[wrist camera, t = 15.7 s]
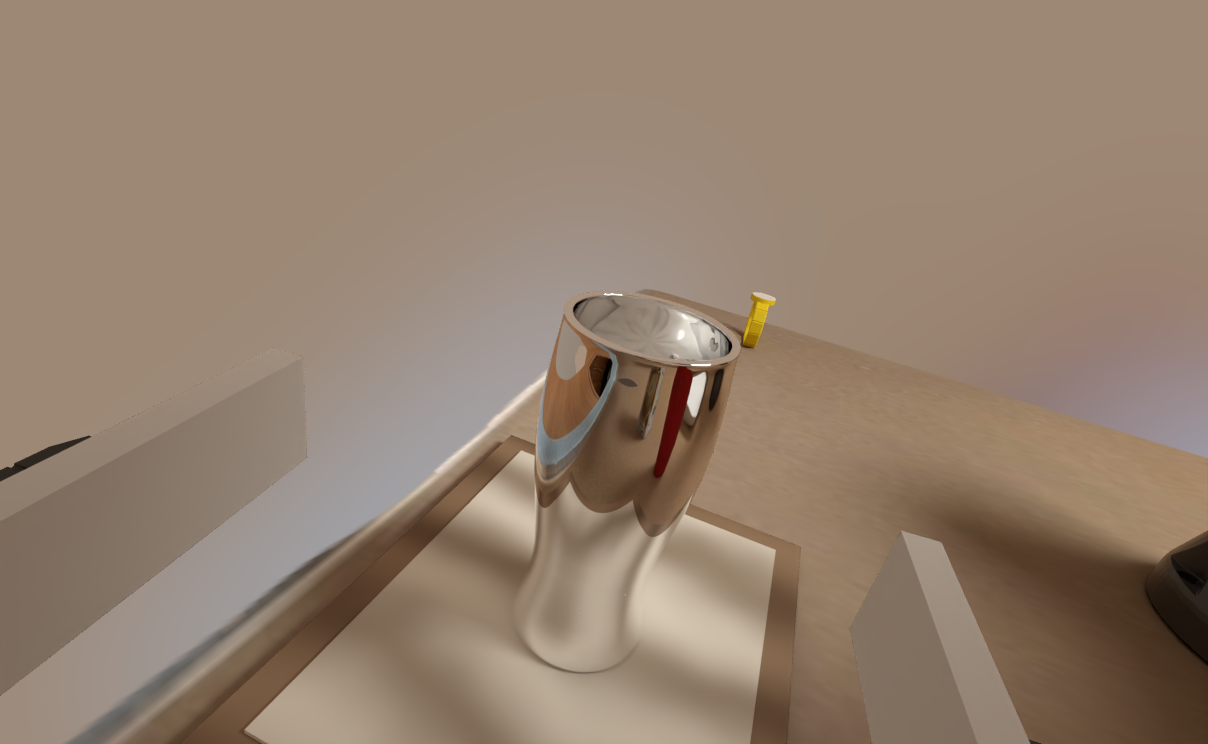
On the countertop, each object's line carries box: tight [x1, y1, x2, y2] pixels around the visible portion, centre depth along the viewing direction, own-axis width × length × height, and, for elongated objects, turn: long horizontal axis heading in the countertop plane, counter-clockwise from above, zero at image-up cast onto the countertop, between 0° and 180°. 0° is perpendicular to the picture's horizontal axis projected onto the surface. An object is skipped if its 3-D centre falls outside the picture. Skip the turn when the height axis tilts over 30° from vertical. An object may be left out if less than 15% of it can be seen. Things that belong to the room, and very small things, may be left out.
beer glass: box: [512, 291, 741, 672], centre depth 25 cm, size 7×7×15 cm
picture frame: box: [180, 435, 801, 744], centre depth 28 cm, size 24×20×1 cm
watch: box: [743, 292, 776, 348], centre depth 69 cm, size 6×3×6 cm, turn 166°
